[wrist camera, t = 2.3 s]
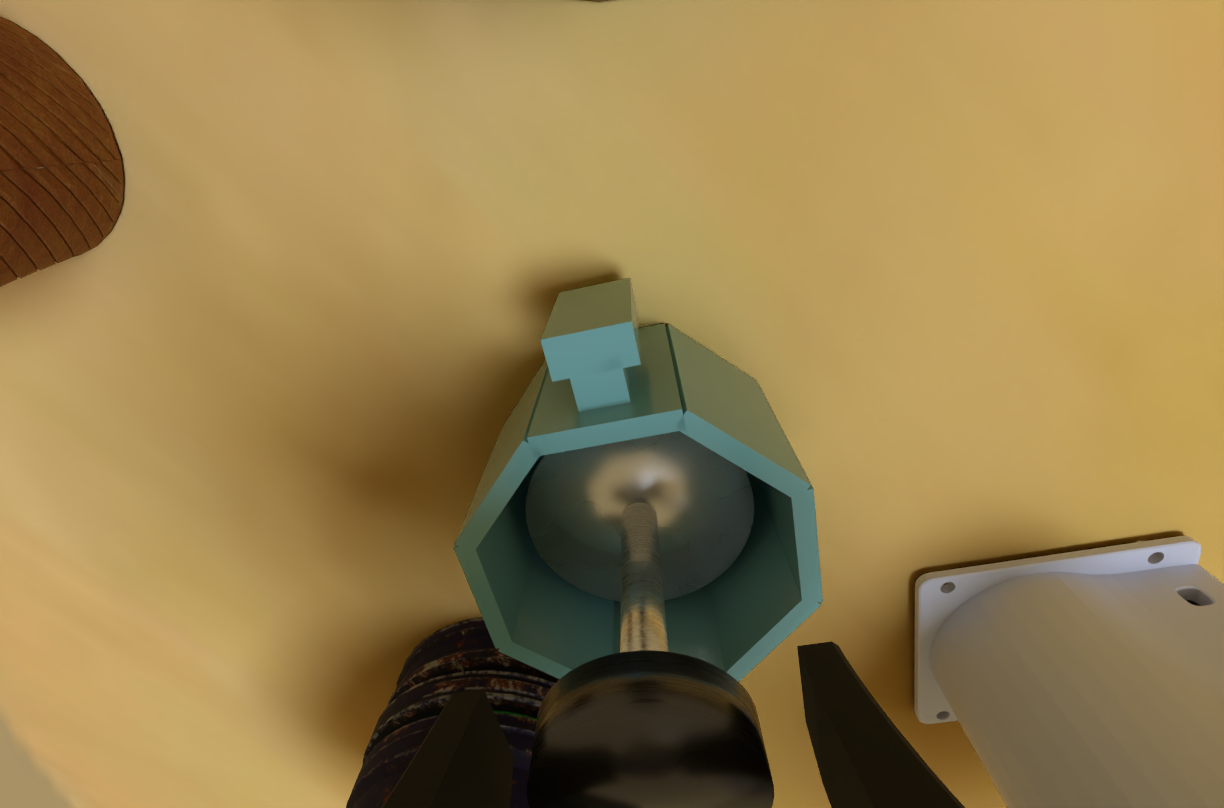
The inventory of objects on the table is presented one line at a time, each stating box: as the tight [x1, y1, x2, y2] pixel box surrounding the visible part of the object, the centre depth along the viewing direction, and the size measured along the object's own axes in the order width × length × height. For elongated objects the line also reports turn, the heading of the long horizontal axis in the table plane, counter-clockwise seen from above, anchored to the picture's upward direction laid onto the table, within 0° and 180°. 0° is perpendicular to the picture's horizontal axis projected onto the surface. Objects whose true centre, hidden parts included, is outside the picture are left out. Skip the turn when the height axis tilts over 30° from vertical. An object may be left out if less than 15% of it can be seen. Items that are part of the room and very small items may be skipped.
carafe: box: [454, 278, 823, 682], centre depth 16 cm, size 8×10×6 cm
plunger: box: [526, 431, 774, 808], centre depth 13 cm, size 6×6×8 cm
